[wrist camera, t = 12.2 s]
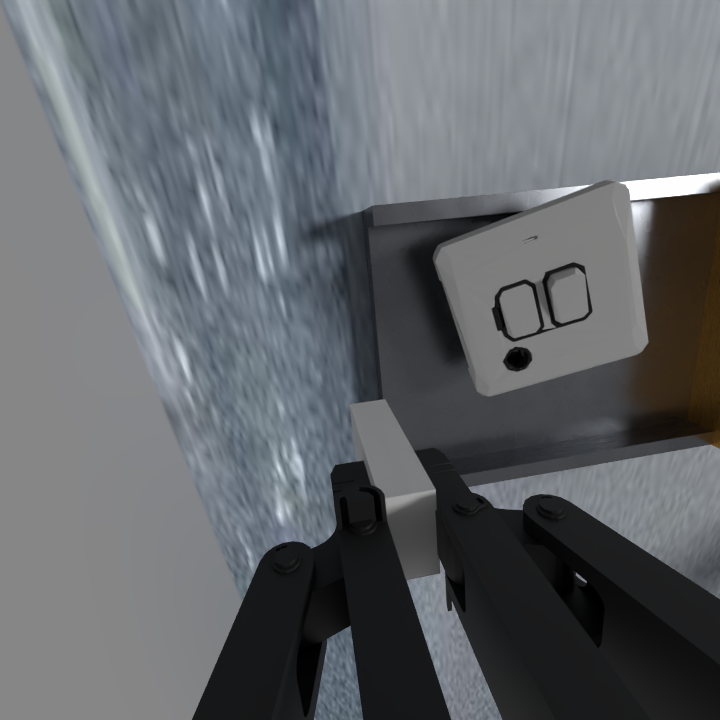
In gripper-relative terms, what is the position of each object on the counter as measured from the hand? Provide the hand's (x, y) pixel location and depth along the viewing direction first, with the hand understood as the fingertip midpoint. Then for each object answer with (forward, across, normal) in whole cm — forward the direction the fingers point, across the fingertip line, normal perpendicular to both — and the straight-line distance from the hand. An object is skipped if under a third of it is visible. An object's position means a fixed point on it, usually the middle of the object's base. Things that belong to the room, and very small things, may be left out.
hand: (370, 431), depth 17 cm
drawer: (+10, +14, 0) cm, 17 cm away
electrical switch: (+8, +13, 0) cm, 15 cm away
